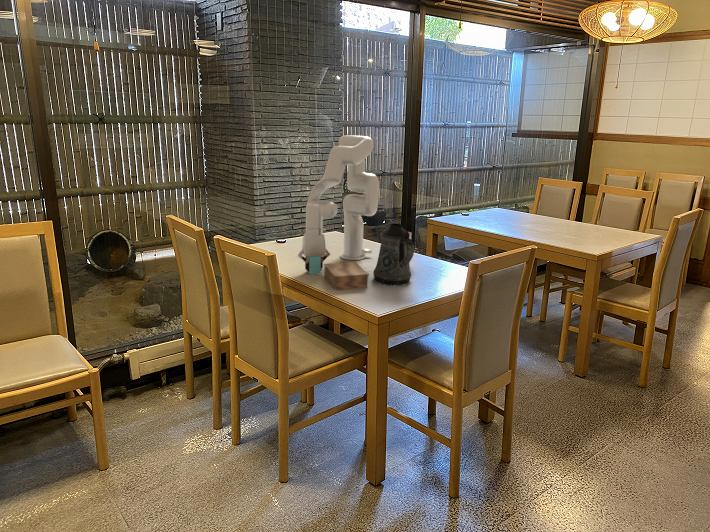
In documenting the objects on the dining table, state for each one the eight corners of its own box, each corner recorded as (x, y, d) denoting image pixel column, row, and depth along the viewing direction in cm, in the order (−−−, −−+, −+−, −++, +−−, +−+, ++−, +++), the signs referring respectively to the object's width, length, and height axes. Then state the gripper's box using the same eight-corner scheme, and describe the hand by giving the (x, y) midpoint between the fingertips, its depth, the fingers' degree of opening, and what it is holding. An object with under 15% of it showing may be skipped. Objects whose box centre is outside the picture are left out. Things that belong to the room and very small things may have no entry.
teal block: (318, 270, 244) (318, 253, 242) (320, 273, 240) (320, 256, 237) (307, 271, 243) (307, 254, 241) (309, 274, 238) (309, 257, 236)
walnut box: (355, 275, 239) (355, 262, 237) (368, 287, 222) (368, 274, 220) (323, 276, 235) (323, 263, 233) (334, 290, 218) (334, 276, 216)
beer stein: (382, 272, 244) (385, 218, 237) (422, 279, 236) (426, 224, 229) (366, 281, 230) (368, 225, 223) (408, 289, 222) (412, 230, 215)
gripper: (330, 228, 242) (330, 267, 247) (293, 230, 237) (293, 269, 242) (335, 232, 235) (334, 271, 240) (296, 233, 230) (296, 273, 235)
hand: (313, 270), depth 241 cm, fingers closed on teal block, 5 cm apart
